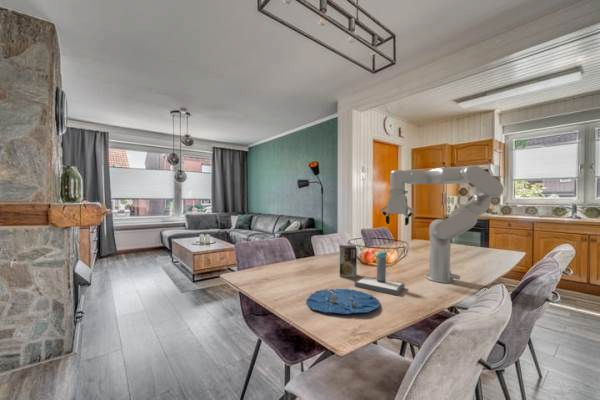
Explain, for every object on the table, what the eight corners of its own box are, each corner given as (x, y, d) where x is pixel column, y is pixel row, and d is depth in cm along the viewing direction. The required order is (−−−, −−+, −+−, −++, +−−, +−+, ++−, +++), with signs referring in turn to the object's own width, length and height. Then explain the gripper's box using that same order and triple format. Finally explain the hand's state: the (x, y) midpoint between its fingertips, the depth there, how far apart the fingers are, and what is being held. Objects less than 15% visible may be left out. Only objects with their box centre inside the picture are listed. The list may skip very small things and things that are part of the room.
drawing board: (404, 287, 123) (404, 283, 123) (397, 295, 113) (397, 290, 113) (363, 279, 134) (363, 275, 134) (354, 286, 124) (354, 282, 124)
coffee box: (355, 274, 144) (355, 245, 144) (356, 277, 138) (357, 247, 138) (338, 273, 145) (339, 244, 145) (339, 277, 139) (339, 247, 138)
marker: (386, 281, 126) (387, 252, 126) (384, 283, 122) (384, 254, 122) (378, 279, 128) (378, 251, 128) (375, 281, 125) (376, 252, 125)
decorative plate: (292, 300, 111) (291, 288, 111) (346, 288, 125) (346, 277, 125) (333, 328, 85) (333, 312, 85) (396, 308, 100) (396, 295, 100)
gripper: (415, 193, 139) (415, 225, 139) (383, 193, 149) (383, 222, 149) (413, 192, 133) (412, 226, 133) (379, 192, 143) (379, 223, 143)
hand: (397, 224), depth 141 cm, fingers open, 9 cm apart
